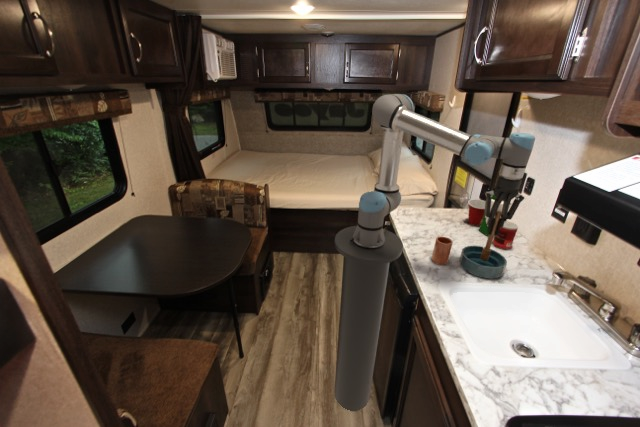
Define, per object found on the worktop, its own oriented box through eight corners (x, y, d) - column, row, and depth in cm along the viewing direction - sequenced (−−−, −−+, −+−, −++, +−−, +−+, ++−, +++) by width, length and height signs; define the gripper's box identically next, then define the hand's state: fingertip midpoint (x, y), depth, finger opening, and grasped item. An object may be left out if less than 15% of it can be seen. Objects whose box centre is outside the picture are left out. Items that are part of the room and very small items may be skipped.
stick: (481, 260, 121) (496, 212, 111) (479, 256, 123) (493, 209, 114) (488, 261, 120) (504, 213, 111) (486, 257, 123) (502, 210, 113)
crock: (432, 263, 123) (437, 243, 119) (430, 255, 128) (435, 235, 124) (448, 265, 122) (454, 245, 117) (446, 257, 127) (451, 237, 123)
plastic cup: (460, 223, 158) (465, 203, 153) (466, 217, 166) (471, 197, 161) (482, 229, 152) (488, 208, 147) (487, 222, 159) (493, 202, 154)
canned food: (511, 244, 139) (518, 223, 134) (510, 251, 133) (517, 230, 128) (493, 239, 143) (499, 219, 138) (491, 246, 137) (498, 225, 132)
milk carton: (490, 228, 154) (501, 192, 145) (503, 236, 146) (515, 199, 137) (475, 229, 152) (486, 193, 144) (488, 237, 144) (499, 200, 136)
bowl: (463, 276, 115) (467, 264, 113) (455, 254, 130) (458, 243, 128) (508, 282, 112) (513, 270, 110) (495, 259, 127) (498, 248, 125)
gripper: (491, 178, 104) (474, 235, 114) (537, 182, 102) (516, 240, 112) (485, 172, 111) (470, 226, 121) (528, 175, 108) (509, 231, 118)
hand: (492, 233), depth 116 cm, fingers closed on stick, 2 cm apart
